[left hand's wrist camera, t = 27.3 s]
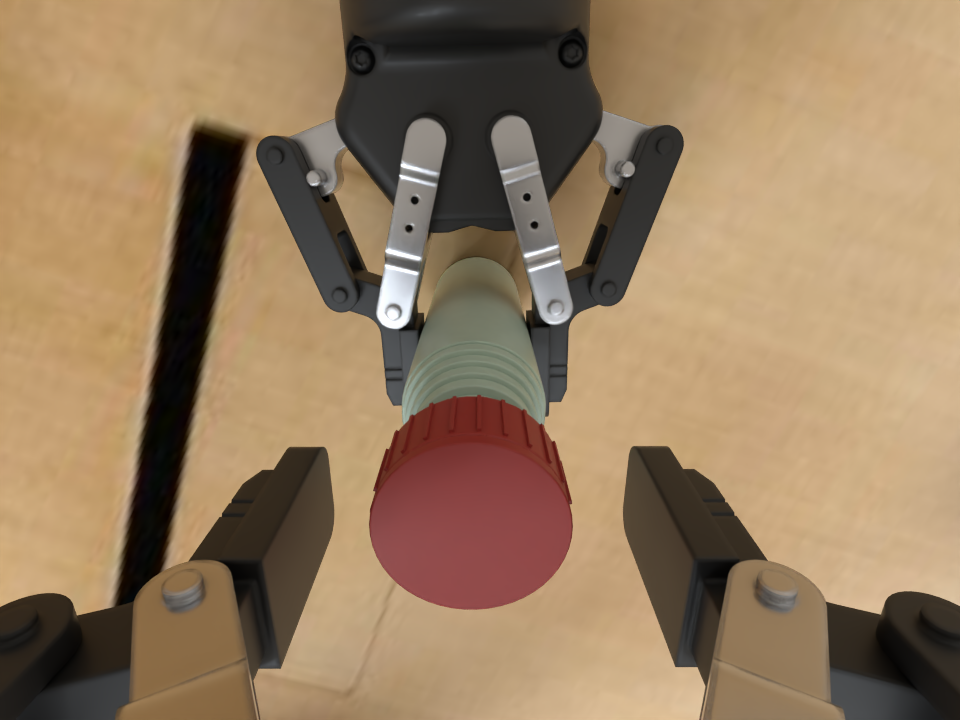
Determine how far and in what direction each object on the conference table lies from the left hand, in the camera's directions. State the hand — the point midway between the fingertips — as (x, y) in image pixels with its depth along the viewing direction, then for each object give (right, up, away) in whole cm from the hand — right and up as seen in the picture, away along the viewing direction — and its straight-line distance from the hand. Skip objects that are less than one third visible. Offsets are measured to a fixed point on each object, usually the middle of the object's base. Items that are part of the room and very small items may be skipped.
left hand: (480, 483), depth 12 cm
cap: (0, 0, -1) cm, 1 cm away
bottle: (0, +6, +15) cm, 16 cm away
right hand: (0, +1, +10) cm, 10 cm away
